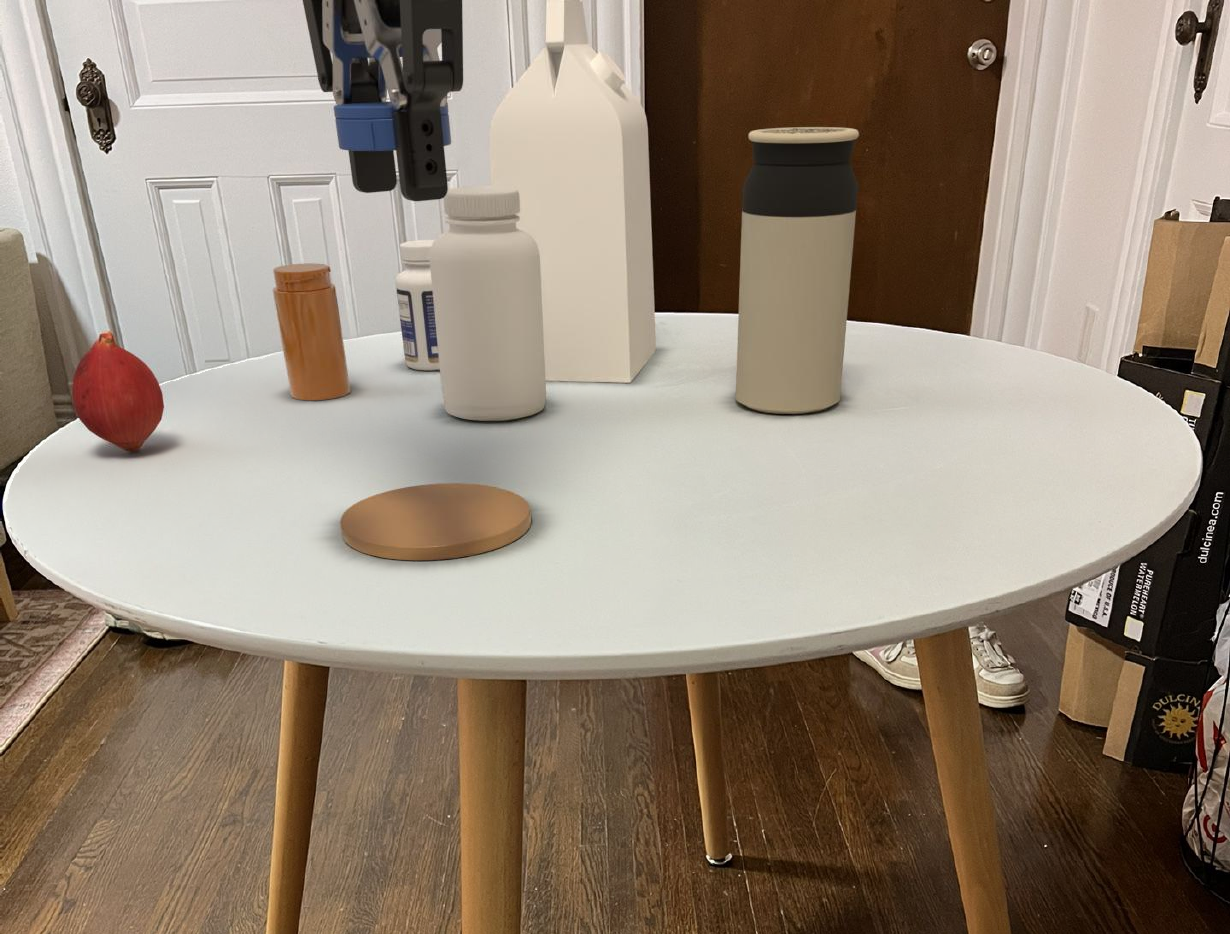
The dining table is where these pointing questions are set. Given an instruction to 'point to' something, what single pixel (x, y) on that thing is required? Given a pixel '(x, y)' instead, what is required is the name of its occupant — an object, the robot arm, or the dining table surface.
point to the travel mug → (795, 268)
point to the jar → (310, 331)
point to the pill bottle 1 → (417, 306)
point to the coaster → (435, 521)
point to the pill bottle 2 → (488, 308)
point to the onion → (117, 395)
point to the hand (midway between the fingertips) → (399, 193)
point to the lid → (373, 126)
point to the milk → (582, 201)
